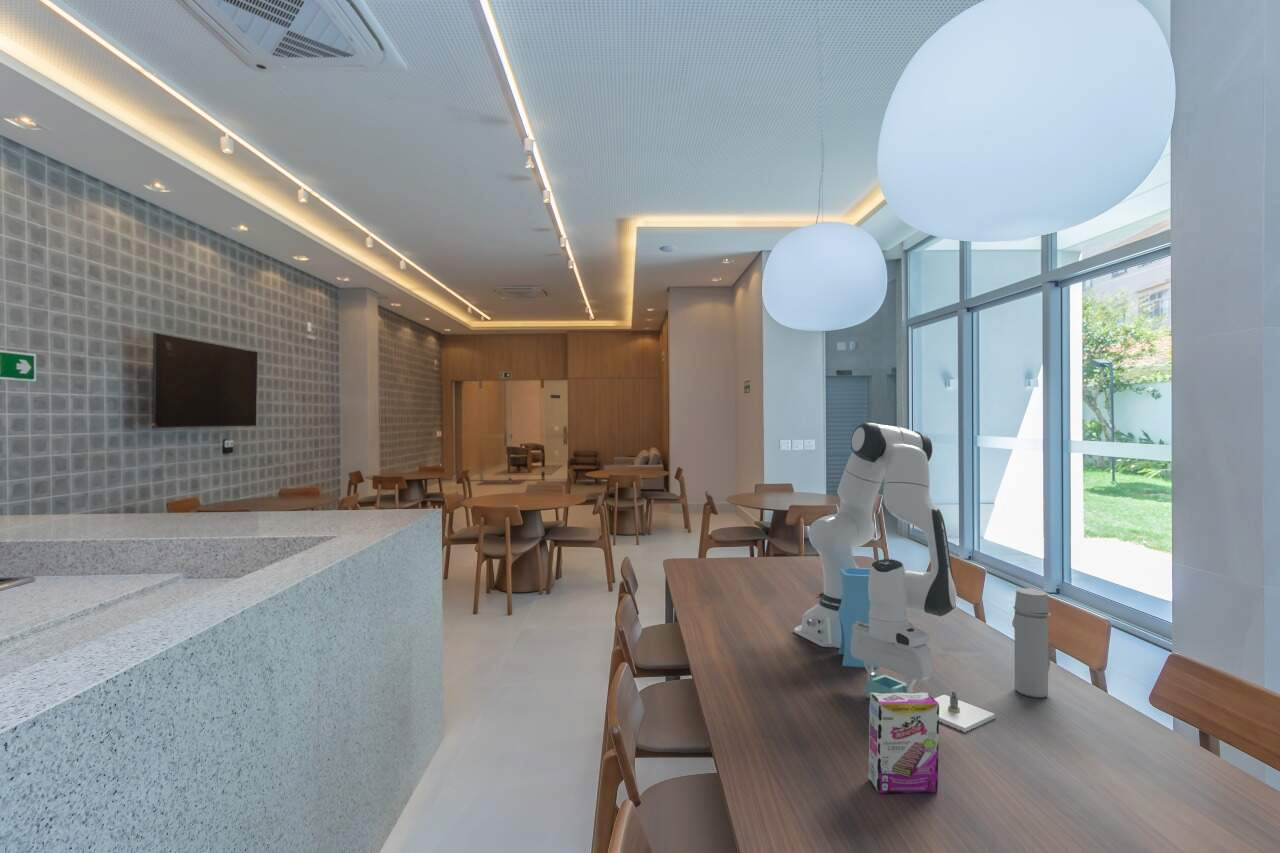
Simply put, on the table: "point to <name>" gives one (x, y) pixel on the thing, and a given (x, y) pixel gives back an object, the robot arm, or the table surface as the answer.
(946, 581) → the robot arm
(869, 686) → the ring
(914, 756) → the candy bar box
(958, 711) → the post stand
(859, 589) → the vase
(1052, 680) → the table surface
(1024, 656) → the water bottle
